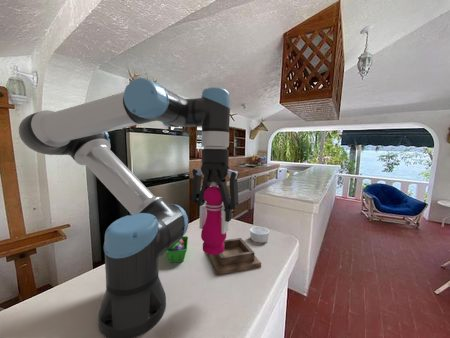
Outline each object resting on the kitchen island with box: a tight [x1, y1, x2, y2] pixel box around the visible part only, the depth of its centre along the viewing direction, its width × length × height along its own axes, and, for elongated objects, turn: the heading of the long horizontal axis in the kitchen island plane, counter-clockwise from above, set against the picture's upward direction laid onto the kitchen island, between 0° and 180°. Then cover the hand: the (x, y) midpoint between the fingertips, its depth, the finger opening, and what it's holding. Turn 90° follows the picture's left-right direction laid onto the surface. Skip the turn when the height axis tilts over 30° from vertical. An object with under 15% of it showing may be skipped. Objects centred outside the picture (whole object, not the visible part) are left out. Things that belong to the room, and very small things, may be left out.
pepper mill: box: [200, 182, 227, 255], centre depth 56 cm, size 7×7×20 cm
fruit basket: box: [165, 235, 189, 263], centre depth 75 cm, size 11×9×11 cm
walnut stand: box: [207, 237, 262, 276], centre depth 74 cm, size 16×16×4 cm
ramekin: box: [249, 226, 270, 244], centre depth 91 cm, size 9×9×4 cm
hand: (213, 229), depth 56 cm, fingers closed on pepper mill, 6 cm apart
